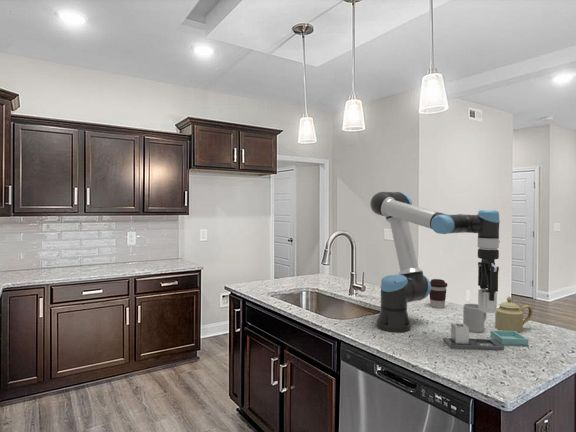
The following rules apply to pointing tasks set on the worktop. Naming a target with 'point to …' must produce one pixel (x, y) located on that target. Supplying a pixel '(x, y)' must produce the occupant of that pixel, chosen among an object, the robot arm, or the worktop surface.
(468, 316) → the mug
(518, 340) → the parts tray
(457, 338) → the light gray block
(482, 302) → the steel cube with knob
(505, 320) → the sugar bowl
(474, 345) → the grey slotted plate
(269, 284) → the worktop surface
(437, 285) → the coffee cup
